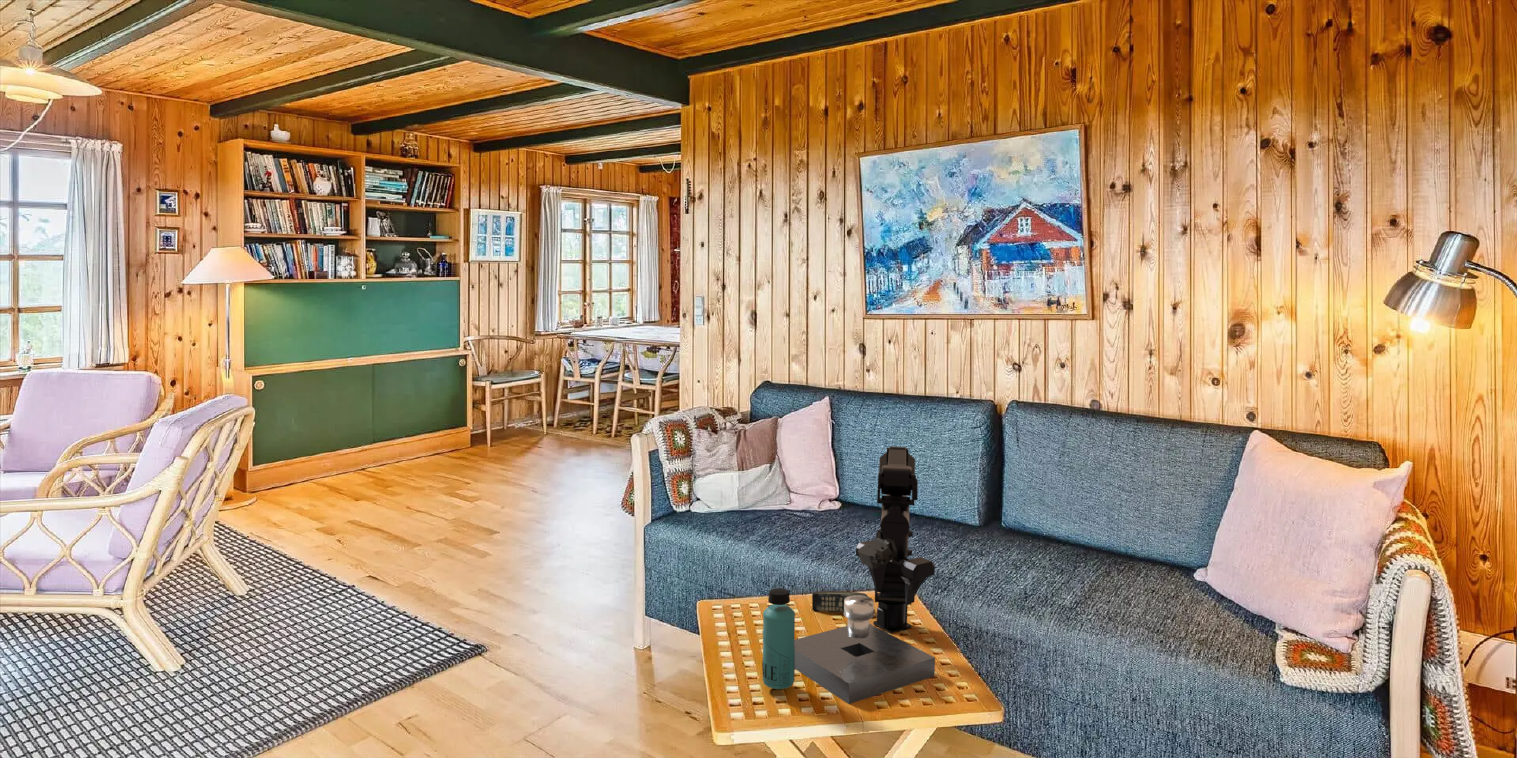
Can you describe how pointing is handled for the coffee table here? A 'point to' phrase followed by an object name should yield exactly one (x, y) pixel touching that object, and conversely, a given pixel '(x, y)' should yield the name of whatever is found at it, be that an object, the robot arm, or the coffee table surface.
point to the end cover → (858, 615)
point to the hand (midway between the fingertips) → (893, 597)
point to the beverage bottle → (778, 641)
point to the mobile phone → (831, 600)
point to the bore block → (861, 663)
